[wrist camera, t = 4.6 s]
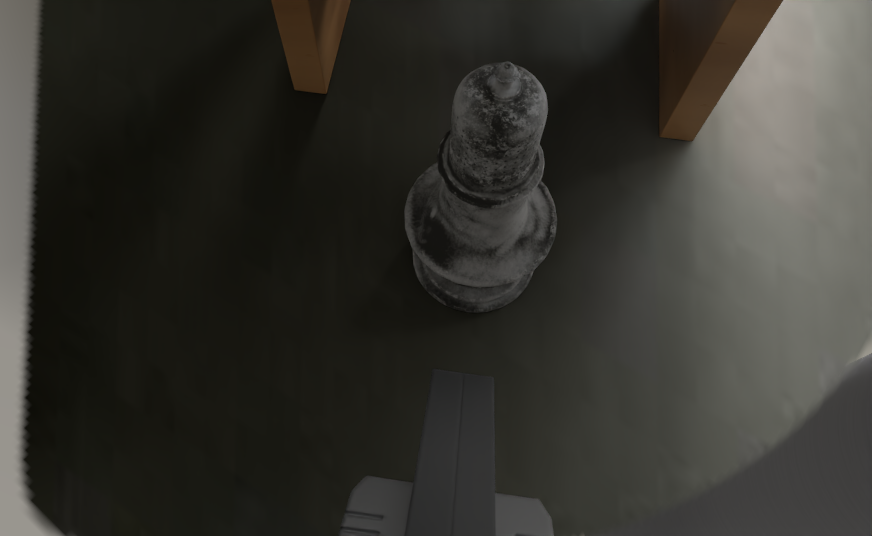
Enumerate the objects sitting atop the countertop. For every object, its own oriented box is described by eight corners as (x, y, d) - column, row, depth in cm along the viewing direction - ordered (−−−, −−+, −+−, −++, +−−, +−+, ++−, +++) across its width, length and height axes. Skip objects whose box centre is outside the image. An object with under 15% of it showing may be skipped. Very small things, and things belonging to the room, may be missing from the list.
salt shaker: (556, 219, 29) (639, 14, 19) (520, 338, 27) (589, 184, 16) (432, 180, 30) (440, -40, 19) (385, 293, 28) (364, 115, 17)
